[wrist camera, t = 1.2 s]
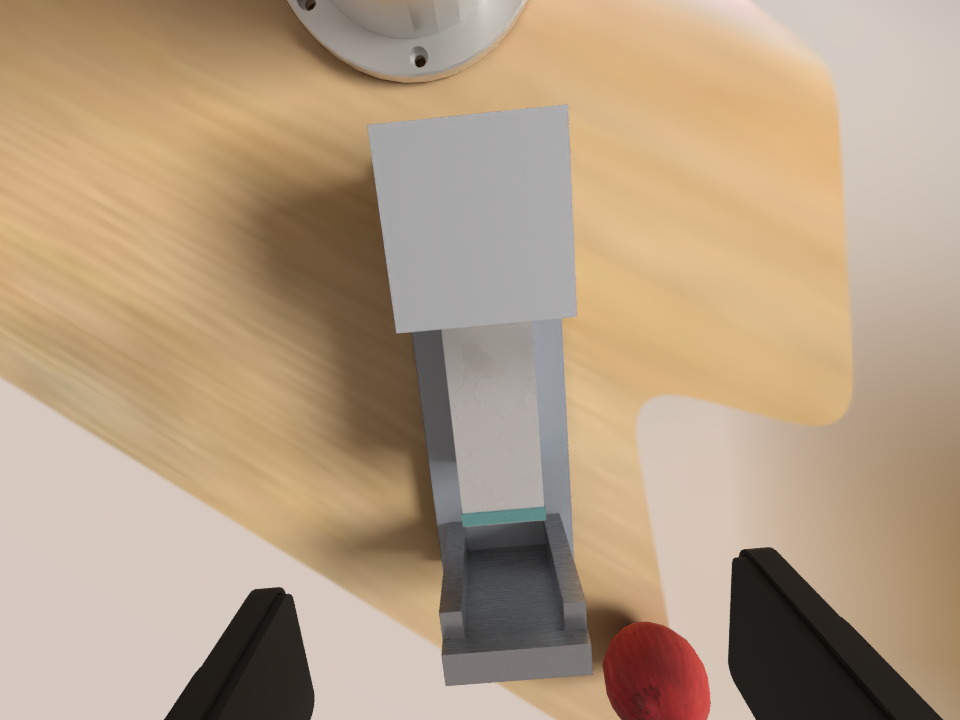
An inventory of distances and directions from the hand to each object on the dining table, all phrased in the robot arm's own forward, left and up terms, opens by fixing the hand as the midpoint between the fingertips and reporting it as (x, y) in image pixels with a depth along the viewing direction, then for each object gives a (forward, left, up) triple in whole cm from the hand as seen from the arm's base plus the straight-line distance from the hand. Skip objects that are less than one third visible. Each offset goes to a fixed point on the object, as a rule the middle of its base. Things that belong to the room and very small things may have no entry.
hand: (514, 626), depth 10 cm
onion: (+18, +8, -18) cm, 27 cm away
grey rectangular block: (-3, 0, -16) cm, 17 cm away
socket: (+10, 0, -16) cm, 19 cm away
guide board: (0, 0, -18) cm, 18 cm away
